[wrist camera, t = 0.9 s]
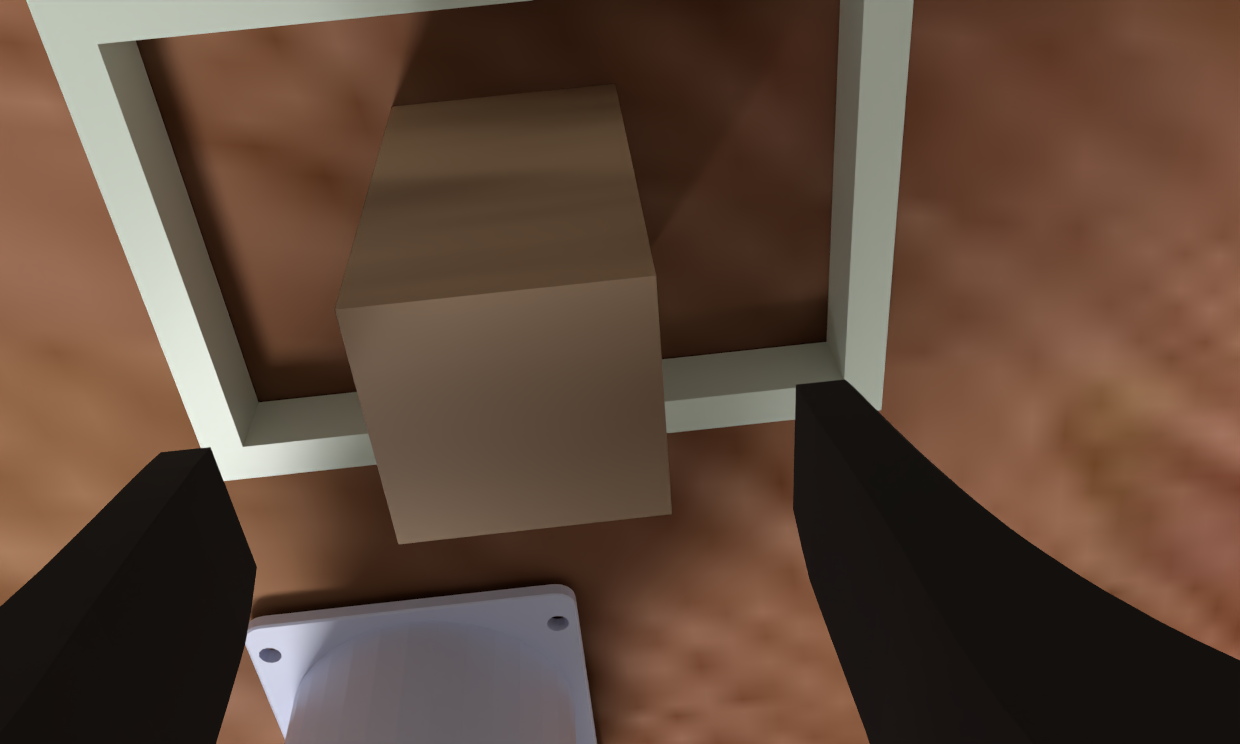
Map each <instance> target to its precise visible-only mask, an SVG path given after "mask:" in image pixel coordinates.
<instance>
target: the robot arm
mask: <svg viewBox="0 0 1240 744" xmlns="http://www.w3.org/2000/svg"><path fill="white" fill-rule="evenodd" d="M793 510H794V515H795V519H796V523H797V528H798V532H799V537H800V541H801V546H802V550H803V554H804V558H805V562H806V566H807V570H808V575H809V579H810V582H811V585H812V587H813V590H814V593H815V596H816V598H817V601H818V604H819V607H820V609H821V612H822V615H823V618H824V620H825V623H826V626H827V628H828V631H829V634H830V637H831V639H832V642H833V645H834V647H835V650H836V653H837V655H838V658H839V661H840V663H841V666H842V669H843V671H844V674H845V677H846V680H847V682H848V685H849V688H850V690H851V693H852V696H853V698H854V701H855V704H856V706H857V709H858V712H859V714H860V717H861V720H862V722H863V725H864V728H865V730H866V733H867V736H868V740H869V743H870V744H1240V660H1238V659H1236V658H1233V657H1231V656H1229V655H1227V654H1225V653H1223V652H1221V651H1219V650H1216V649H1214V648H1212V647H1210V646H1208V645H1206V644H1204V643H1201V642H1199V641H1197V640H1195V639H1193V638H1191V637H1189V636H1187V635H1185V634H1183V633H1181V632H1179V631H1177V630H1175V629H1173V628H1171V627H1169V626H1168V625H1166V624H1164V623H1162V622H1160V621H1158V620H1156V619H1154V618H1152V617H1150V616H1149V615H1147V614H1145V613H1143V612H1142V611H1140V610H1138V609H1136V608H1134V607H1133V606H1131V605H1129V604H1127V603H1126V602H1124V601H1122V600H1120V599H1118V598H1117V597H1115V596H1113V595H1111V594H1110V593H1108V592H1106V591H1104V590H1103V589H1101V588H1099V587H1098V586H1096V585H1094V584H1093V583H1091V582H1089V581H1088V580H1086V579H1084V578H1083V577H1081V576H1080V575H1078V574H1076V573H1075V572H1073V571H1072V570H1070V569H1069V568H1067V567H1066V566H1064V565H1063V564H1061V563H1060V562H1058V561H1057V560H1055V559H1054V558H1052V557H1051V556H1049V555H1048V554H1046V553H1045V552H1043V551H1042V550H1040V549H1039V548H1037V547H1036V546H1034V545H1033V544H1031V543H1030V542H1028V541H1027V540H1026V539H1024V538H1023V537H1021V536H1020V535H1019V534H1017V533H1016V532H1015V531H1013V530H1012V529H1010V528H1009V527H1008V526H1006V525H1005V524H1004V523H1003V522H1001V521H1000V520H999V519H998V518H996V517H995V516H994V515H993V514H991V513H990V512H989V511H988V510H986V509H985V508H984V507H982V506H981V505H980V504H979V503H977V502H976V501H975V500H974V499H973V498H971V497H970V496H969V495H968V494H967V493H966V492H964V491H963V490H962V489H961V488H960V487H958V486H957V485H956V484H955V483H954V482H953V481H952V480H951V479H949V478H948V477H947V476H946V475H945V474H944V473H943V472H942V471H940V470H939V469H938V468H937V467H936V466H935V465H934V464H933V463H931V462H930V461H929V460H928V459H927V458H926V457H925V456H924V455H923V454H922V453H920V452H919V451H918V450H917V449H916V448H915V447H914V446H913V445H912V444H911V443H910V442H909V441H908V440H907V439H906V438H905V437H904V436H903V435H902V434H901V433H899V432H898V431H897V430H896V429H895V428H894V427H893V426H892V425H891V424H890V423H889V422H888V421H887V420H886V419H885V418H884V417H883V416H882V415H881V414H880V413H879V412H878V411H877V410H876V409H875V408H874V407H873V406H872V405H871V404H870V403H869V402H868V401H867V400H866V399H865V398H864V397H863V396H862V395H861V394H860V393H859V392H858V391H857V390H856V389H855V388H854V387H853V386H852V385H851V384H850V383H849V382H848V381H846V380H845V379H844V380H834V381H825V382H816V383H806V384H797V385H796V402H795V449H794V495H793ZM256 569H257V567H256V564H255V561H254V559H253V556H252V554H251V551H250V548H249V546H248V543H247V541H246V538H245V535H244V533H243V530H242V528H241V525H240V522H239V520H238V517H237V515H236V512H235V509H234V507H233V504H232V502H231V499H230V496H229V494H228V491H227V489H226V486H225V483H224V481H223V478H222V476H221V473H220V470H219V468H218V465H217V463H216V460H215V457H214V455H213V452H212V450H211V447H207V448H198V449H189V450H179V451H170V452H161V453H160V454H159V455H157V456H156V457H155V458H154V459H153V460H152V461H151V462H150V463H149V464H148V465H146V466H145V467H144V468H143V469H142V470H141V471H140V472H139V473H138V474H137V475H136V476H135V477H134V478H133V479H132V480H131V481H130V482H129V483H128V484H127V485H126V486H125V487H124V488H123V489H122V490H121V491H120V492H119V493H118V494H117V495H116V496H115V497H114V498H113V499H112V500H111V501H110V502H109V503H108V504H107V505H106V506H105V507H104V508H103V509H102V510H101V511H100V512H99V513H98V514H97V515H96V516H95V517H94V518H93V519H92V520H91V521H90V522H89V523H88V524H87V525H86V526H85V527H84V528H83V529H82V530H81V531H80V532H79V533H78V534H77V535H76V536H75V537H74V538H73V539H72V540H71V541H70V542H69V543H68V544H67V545H66V546H65V547H64V548H63V549H62V550H61V551H60V552H59V553H58V554H57V555H56V556H55V557H54V558H53V559H52V560H51V561H50V562H49V563H48V564H46V565H45V566H44V567H43V568H42V569H41V570H40V571H39V572H38V573H37V574H36V575H35V576H34V577H33V578H31V579H30V580H29V581H28V582H27V583H26V584H25V585H24V586H23V587H22V588H20V589H19V590H18V591H17V592H16V593H15V594H14V595H13V596H12V597H10V598H9V599H8V600H7V601H6V602H5V603H4V604H3V605H2V606H1V607H0V744H216V741H217V738H218V735H219V731H220V728H221V725H222V722H223V718H224V715H225V712H226V708H227V705H228V702H229V698H230V695H231V691H232V688H233V685H234V681H235V678H236V674H237V671H238V667H239V664H240V661H241V657H242V653H243V650H244V646H245V645H246V648H247V650H248V652H249V655H250V657H251V660H252V662H253V664H254V667H255V669H256V672H257V674H258V676H259V679H260V681H261V684H262V686H263V688H264V691H265V693H266V696H267V698H268V700H269V703H270V705H271V708H272V710H273V712H274V715H275V717H276V720H277V722H278V724H279V727H280V729H281V732H282V734H283V736H284V739H285V743H284V744H597V739H596V732H595V725H594V718H593V712H592V705H591V698H590V691H589V684H588V677H587V670H586V664H585V657H584V650H583V643H582V636H581V629H580V622H579V616H578V609H577V602H576V596H575V594H574V591H573V590H571V589H570V588H569V587H567V586H564V585H561V584H549V585H540V586H531V587H522V588H513V589H504V590H495V591H486V592H477V593H468V594H459V595H449V596H440V597H431V598H422V599H413V600H404V601H395V602H386V603H377V604H368V605H359V606H349V607H340V608H331V609H322V610H313V611H304V612H295V613H286V614H277V615H268V616H261V617H257V618H254V619H253V620H251V621H250V622H249V619H250V613H251V607H252V599H253V592H254V584H255V577H256ZM555 616H563V618H560V619H555V618H552V617H555ZM268 648H274V649H276V650H270V649H268Z"/></svg>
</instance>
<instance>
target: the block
mask: <svg viewBox="0 0 1240 744" xmlns="http://www.w3.org/2000/svg"><path fill="white" fill-rule="evenodd" d="M335 313H336V317H337V320H338V324H339V328H340V331H341V335H342V339H343V342H344V346H345V350H346V353H347V357H348V361H349V364H350V368H351V372H352V376H353V379H354V383H355V387H356V390H357V394H358V398H359V401H360V405H361V409H362V412H363V416H364V420H365V423H366V427H367V431H368V434H369V438H370V442H371V445H372V449H373V453H374V456H375V460H376V464H377V467H378V471H379V475H380V478H381V482H382V486H383V489H384V493H385V497H386V500H387V504H388V508H389V511H390V515H391V519H392V522H393V526H394V530H395V533H396V537H397V541H398V544H407V543H416V542H425V541H434V540H443V539H452V538H461V537H470V536H479V535H488V534H497V533H506V532H515V531H524V530H533V529H542V528H551V527H560V526H569V525H578V524H587V523H596V522H605V521H614V520H623V519H632V518H641V517H650V516H660V515H669V514H672V505H671V490H670V475H669V460H668V445H667V430H666V415H665V400H664V385H663V370H662V356H661V341H660V326H659V311H658V296H657V281H656V273H655V268H654V263H653V258H652V254H651V249H650V244H649V240H648V235H647V230H646V226H645V221H644V216H643V212H642V207H641V202H640V197H639V193H638V188H637V183H636V179H635V174H634V169H633V165H632V160H631V155H630V151H629V146H628V141H627V136H626V132H625V127H624V122H623V118H622V113H621V108H620V104H619V99H618V94H617V90H616V85H615V84H607V85H597V86H587V87H577V88H567V89H558V90H548V91H538V92H528V93H519V94H509V95H499V96H489V97H480V98H470V99H460V100H450V101H441V102H431V103H421V104H412V105H402V106H392V108H391V111H390V115H389V118H388V122H387V126H386V129H385V133H384V136H383V140H382V143H381V147H380V150H379V154H378V157H377V161H376V165H375V168H374V172H373V175H372V179H371V182H370V186H369V189H368V193H367V197H366V200H365V204H364V207H363V211H362V214H361V218H360V221H359V225H358V229H357V232H356V236H355V239H354V243H353V246H352V250H351V253H350V257H349V260H348V264H347V268H346V271H345V275H344V278H343V282H342V285H341V289H340V292H339V296H338V300H337V303H336V307H335Z"/></svg>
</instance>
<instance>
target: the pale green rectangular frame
mask: <svg viewBox="0 0 1240 744" xmlns="http://www.w3.org/2000/svg"><path fill="white" fill-rule="evenodd" d="M26 1H27V4H28V6H29V9H30V11H31V14H32V16H33V19H34V22H35V24H36V27H37V29H38V32H39V34H40V37H41V39H42V42H43V45H44V47H45V50H46V52H47V55H48V57H49V60H50V63H51V65H52V68H53V70H54V73H55V75H56V78H57V80H58V83H59V86H60V88H61V91H62V93H63V96H64V98H65V101H66V104H67V106H68V109H69V111H70V114H71V116H72V119H73V121H74V124H75V127H76V129H77V132H78V134H79V137H80V139H81V142H82V144H83V147H84V150H85V152H86V155H87V157H88V160H89V162H90V165H91V168H92V170H93V173H94V175H95V178H96V180H97V183H98V185H99V188H100V191H101V193H102V196H103V198H104V201H105V203H106V206H107V209H108V211H109V214H110V216H111V219H112V221H113V224H114V226H115V229H116V232H117V234H118V237H119V239H120V242H121V244H122V247H123V250H124V252H125V255H126V257H127V260H128V262H129V265H130V267H131V270H132V273H133V275H134V278H135V280H136V283H137V285H138V288H139V290H140V293H141V296H142V298H143V301H144V303H145V306H146V308H147V311H148V314H149V316H150V319H151V321H152V324H153V326H154V329H155V331H156V334H157V337H158V339H159V342H160V344H161V347H162V349H163V352H164V355H165V357H166V360H167V362H168V365H169V367H170V370H171V372H172V375H173V378H174V380H175V383H176V385H177V388H178V390H179V393H180V395H181V398H182V401H183V403H184V406H185V408H186V411H187V413H188V416H189V419H190V421H191V424H192V426H193V429H194V431H195V434H196V436H197V439H198V442H199V444H200V447H201V448H207V447H211V450H212V452H213V455H214V457H215V460H216V463H217V465H218V468H219V470H220V473H221V476H222V478H223V481H229V480H238V479H248V478H257V477H266V476H275V475H285V474H294V473H303V472H312V471H322V470H331V469H340V468H350V467H359V466H368V465H377V464H376V460H375V456H374V453H373V449H372V445H371V442H370V438H369V434H368V431H367V427H366V423H365V420H364V416H363V412H362V409H361V405H360V401H359V398H358V394H357V392H351V393H342V394H332V395H323V396H314V397H304V398H295V399H285V400H276V401H267V402H258V399H257V396H256V393H255V390H254V388H253V385H252V382H251V379H250V376H249V373H248V370H247V367H246V364H245V361H244V358H243V355H242V352H241V349H240V346H239V343H238V340H237V338H236V335H235V332H234V329H233V326H232V323H231V320H230V317H229V314H228V311H227V308H226V305H225V302H224V299H223V296H222V293H221V290H220V287H219V285H218V282H217V279H216V276H215V273H214V270H213V267H212V264H211V261H210V258H209V255H208V252H207V249H206V246H205V243H204V240H203V237H202V235H201V232H200V229H199V226H198V223H197V220H196V217H195V214H194V211H193V208H192V205H191V202H190V199H189V196H188V193H187V190H186V187H185V184H184V182H183V179H182V176H181V173H180V170H179V167H178V164H177V161H176V158H175V155H174V152H173V149H172V146H171V143H170V140H169V137H168V134H167V132H166V129H165V126H164V123H163V120H162V117H161V114H160V111H159V108H158V105H157V102H156V99H155V96H154V93H153V90H152V87H151V84H150V82H149V79H148V76H147V73H146V70H145V67H144V64H143V61H142V58H141V55H140V52H139V49H138V46H137V43H136V40H145V39H154V38H164V37H174V36H184V35H194V34H204V33H214V32H224V31H234V30H244V29H254V28H264V27H274V26H284V25H293V24H303V23H313V22H323V21H333V20H343V19H353V18H363V17H373V16H383V15H393V14H403V13H413V12H423V11H432V10H442V9H452V8H462V7H472V6H482V5H492V4H502V3H512V2H522V1H532V0H26ZM913 2H914V0H840V17H839V42H838V67H837V92H836V117H835V142H834V167H833V192H832V217H831V242H830V267H829V291H828V316H827V341H826V342H820V343H811V344H801V345H792V346H783V347H773V348H764V349H754V350H745V351H736V352H726V353H717V354H708V355H698V356H689V357H679V358H670V359H662V370H663V385H664V400H665V415H666V430H667V433H674V432H683V431H693V430H702V429H711V428H721V427H730V426H739V425H748V424H758V423H767V422H776V421H786V420H795V402H796V385H797V384H806V383H816V382H825V381H834V380H844V379H845V380H846V381H848V382H849V383H850V384H851V385H852V386H853V387H854V388H855V389H856V390H857V391H858V392H859V393H860V394H861V395H862V396H863V397H864V398H865V399H866V400H867V401H868V402H869V403H870V404H871V405H872V406H873V407H874V408H875V409H876V410H877V411H878V410H881V408H882V395H883V382H884V370H885V357H886V344H887V331H888V319H889V306H890V293H891V281H892V268H893V255H894V243H895V230H896V217H897V205H898V192H899V179H900V167H901V154H902V141H903V129H904V116H905V103H906V91H907V78H908V65H909V53H910V40H911V27H912V15H913Z"/></svg>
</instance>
